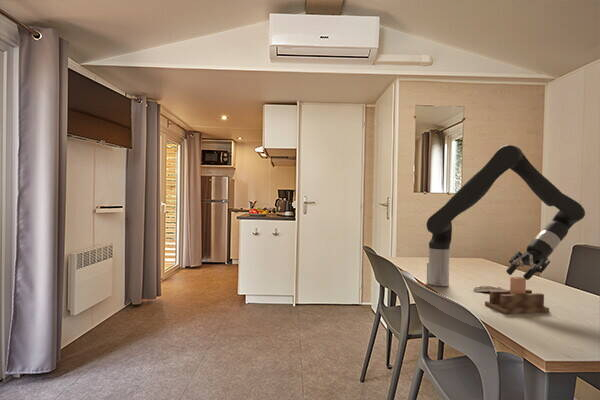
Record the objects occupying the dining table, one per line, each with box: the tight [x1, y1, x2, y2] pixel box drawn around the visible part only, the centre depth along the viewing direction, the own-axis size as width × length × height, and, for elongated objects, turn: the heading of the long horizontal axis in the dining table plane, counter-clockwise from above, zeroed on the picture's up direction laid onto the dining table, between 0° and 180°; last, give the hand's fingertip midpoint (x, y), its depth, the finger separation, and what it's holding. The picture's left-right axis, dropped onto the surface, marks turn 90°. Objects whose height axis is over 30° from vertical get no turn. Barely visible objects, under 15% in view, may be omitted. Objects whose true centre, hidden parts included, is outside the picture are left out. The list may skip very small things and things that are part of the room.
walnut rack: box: [484, 288, 550, 315], centre depth 139 cm, size 18×11×6 cm, turn 100°
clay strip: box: [509, 276, 527, 294], centre depth 139 cm, size 4×2×10 cm, turn 100°
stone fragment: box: [473, 285, 507, 293], centre depth 161 cm, size 25×3×10 cm
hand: (516, 275), depth 139 cm, fingers open, 8 cm apart
